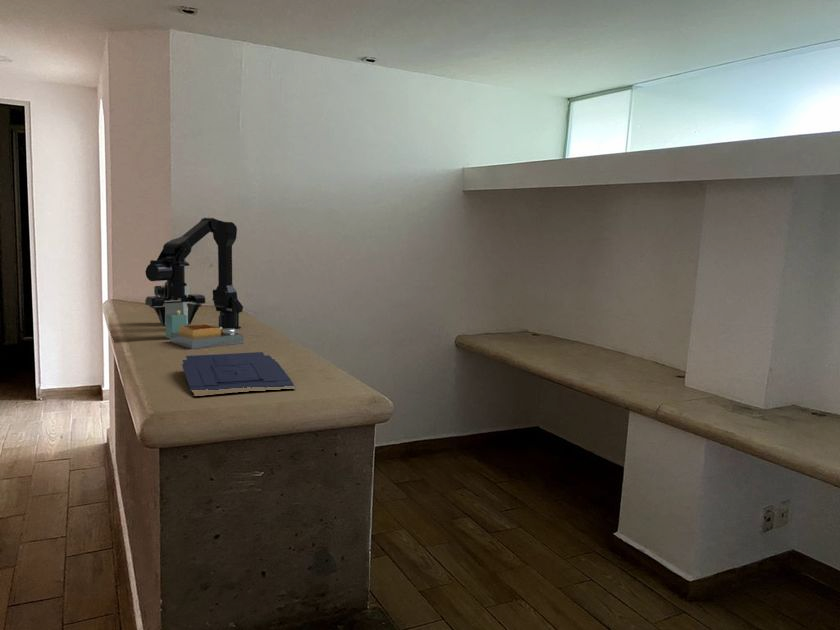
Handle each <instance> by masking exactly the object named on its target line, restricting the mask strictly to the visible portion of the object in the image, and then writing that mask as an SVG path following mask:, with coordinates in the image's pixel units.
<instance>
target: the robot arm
mask: <svg viewBox="0 0 840 630" xmlns="http://www.w3.org/2000/svg"><path fill="white" fill-rule="evenodd" d="M209 233H212V236H213V237H212V238H213V240H214V241H215V244H216V245H217V257H218V258H217V265H218V266H217V268H218V269H217V271H218V273H217V276H218V277H217V278H218V280H217V281H218V284H217V286H216V288H215V289H212V301H213V304H214V307H215V310H216V312H219V316H218V326H220V327H222V328H234V329H241V328H242V327H241V325H240V323H239V322H240V316H239V315H240V313H243V309H244V306H243V304H242V303H241V302H240V301H239V299H238V293H237V290H236V288H235V287H234V285H233V245H234V244H235V242H236V240H237V234H238V227H237V225H236V224H235V223H234V222H231V221H223V220H219V219H217V218H214V217H203V218H201V219H200V221H199V222H197V223H196V224H195V225H194V226H193V227H192V228H190V229H189V230H187V232H185V233H184V234H183V235H181V236H179V237H177V238H172V239H171V240H169V241H167V242H165V244H163V247H162V249H161V252H160V254H159V255H158V257H157V259H156V260H155V259H153V260H149V262H150V263H149V264H148V265H147V266H146V270H145V276H146V278H147V279H148V281H150V282H163V281H165V282H164V284H165V287H162V285H155V286H154V287H153V288H154V289H153V293H154V296H153V295H150V296H146V298H145V303H144V304H145V305H146V306H149V307H150V308H151V309H153V310H154V311H155V313H156V315H157V316H158V320H159V321H160V324H161V327H164V328H165V327H166V325H165V307H163V305H164V303H181V302H189V303H187V307H188V324H187V325H192V324H191V323H192V321H193V319H194V317H195V315H196V314H197V311H198V309H199V308H200V307H203V304H206V296H204V295H203V294H201V293H200V294H199V293H193V294H192V293H190V294H188V296H187V295H185V286H187V282H186V278H185V277H186V275H185V274H186V271H185V269H186V267H190V263H189V262H188V261H186V259H187V257H188V256H189V255H190V253H191V252H192V249H193V247H194V246H195V245H196V244H197V243H198V242H199V241H201V240H202V239H204V237H206V236H207V235H208V234H209ZM180 298H181V299H180Z"/></svg>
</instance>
